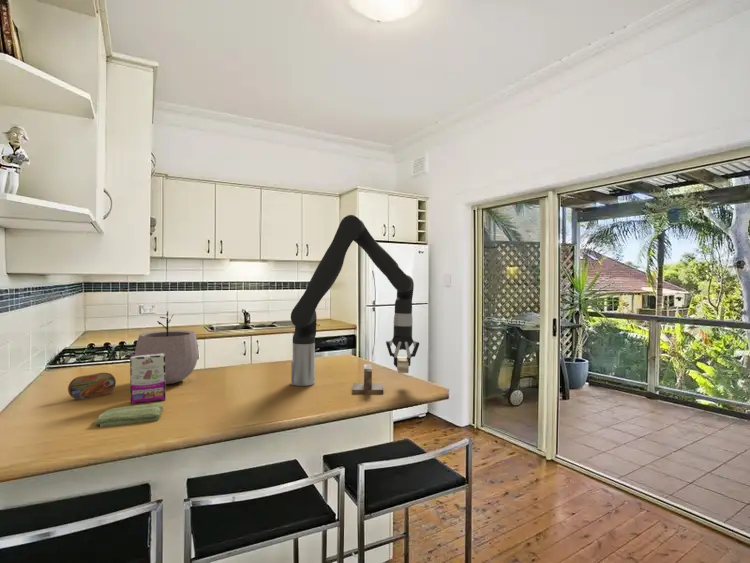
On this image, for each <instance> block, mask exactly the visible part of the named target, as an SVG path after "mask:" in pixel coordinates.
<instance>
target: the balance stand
mask: <svg viewBox="0 0 750 563" xmlns="http://www.w3.org/2000/svg"><path fill="white" fill-rule="evenodd" d="M372 366H373V364H372V363H363V383H361V382H358V383H356V382H354V383H352V388H351V390H352V391H351V392H352V394H365V395H367V394H368V395H371V394H372V395H373V394H377V395H380V394H381V395H382V394H384V384H383V383H381V382H377V383H375V382H373V367H372Z"/></svg>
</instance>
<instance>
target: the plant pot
mask: <svg viewBox="0 0 750 563" xmlns="http://www.w3.org/2000/svg"><path fill="white" fill-rule="evenodd" d="M174 314H175V313H173V314H172V316H171V317H170V319H169V317H168V316H169V310H168V311H167V312H166V317H163V316H159V318H161V319H166V326H165V325H164V324H163V323H161V321H159V320H157V323H158V324H159V325H161V326H162V327H163V328H165V330H156V331H155V330H154V331H148V332H147V331H146V332H143V333H140V334H139V335H138V338H137V341H136V345H135V349H134V350H135V351H134V356H137V355H150V354H163V353H165V385H170V384H175V383H179V382H181V381H183V380H185V379H186V378H187V377H189V376H190V375H191V374H192V373H193V372H194V370H195V368H196V366H197V362H198V358H199V344H198V340H197V336H196V333H195V331H193V330H184V329H182V330H181V329H177V330H176V329H174V330H173V329H172V330H169V323H170V322H171V319H172V318H173V316H174Z"/></svg>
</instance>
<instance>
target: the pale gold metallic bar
mask: <svg viewBox="0 0 750 563" xmlns="http://www.w3.org/2000/svg"><path fill="white" fill-rule="evenodd" d="M397 358H398V359H397V367H396V371H397V374H409V370H410V368H409V367H410V366H409V362H408V360H407V354H398V355H397Z"/></svg>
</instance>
